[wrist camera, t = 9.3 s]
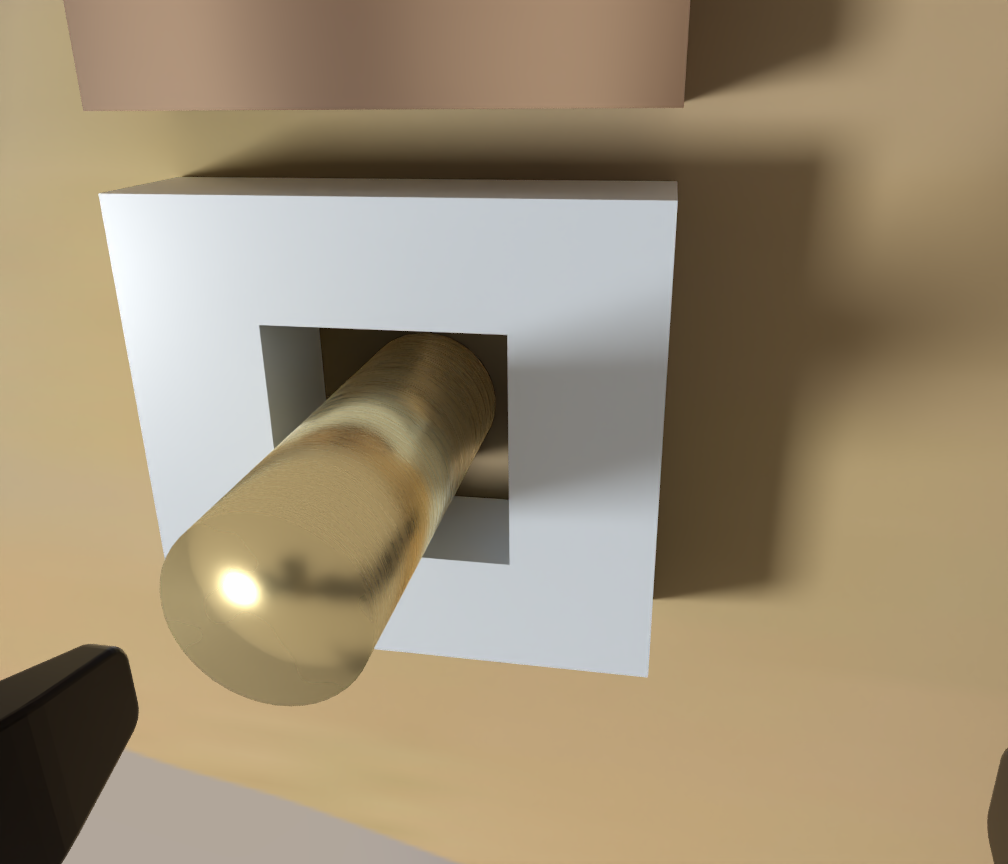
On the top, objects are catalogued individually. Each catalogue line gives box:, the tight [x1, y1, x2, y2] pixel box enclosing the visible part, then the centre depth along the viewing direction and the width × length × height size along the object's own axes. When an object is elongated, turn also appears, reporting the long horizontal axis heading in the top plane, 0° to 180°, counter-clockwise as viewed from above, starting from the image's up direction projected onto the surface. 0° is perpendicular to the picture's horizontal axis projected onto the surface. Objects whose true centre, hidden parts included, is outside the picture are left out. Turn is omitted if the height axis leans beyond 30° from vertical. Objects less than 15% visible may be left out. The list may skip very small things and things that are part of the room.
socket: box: [99, 177, 678, 677], centre depth 19 cm, size 11×10×3 cm
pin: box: [160, 333, 495, 706], centre depth 16 cm, size 3×3×9 cm
